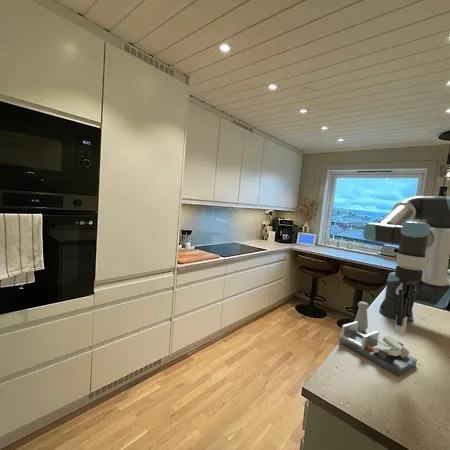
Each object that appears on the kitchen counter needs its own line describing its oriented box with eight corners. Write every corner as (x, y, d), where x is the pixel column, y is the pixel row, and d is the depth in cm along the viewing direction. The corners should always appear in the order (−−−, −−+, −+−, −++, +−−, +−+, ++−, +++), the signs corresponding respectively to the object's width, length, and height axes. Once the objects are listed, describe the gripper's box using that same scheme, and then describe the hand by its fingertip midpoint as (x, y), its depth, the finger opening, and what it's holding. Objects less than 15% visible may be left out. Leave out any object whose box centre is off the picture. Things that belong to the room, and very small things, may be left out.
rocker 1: (378, 349, 95) (377, 344, 95) (401, 353, 88) (400, 347, 89) (373, 351, 93) (372, 346, 94) (396, 356, 87) (395, 350, 87)
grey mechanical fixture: (357, 336, 110) (359, 319, 109) (416, 366, 91) (419, 346, 91) (339, 342, 103) (341, 325, 102) (398, 376, 85) (401, 355, 84)
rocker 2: (387, 338, 99) (389, 334, 98) (407, 355, 93) (410, 352, 92) (382, 340, 97) (384, 336, 96) (402, 358, 91) (405, 354, 90)
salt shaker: (354, 325, 120) (358, 299, 119) (368, 330, 117) (371, 302, 115) (351, 329, 116) (355, 302, 115) (365, 334, 112) (369, 306, 111)
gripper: (406, 263, 92) (396, 325, 94) (387, 265, 85) (378, 332, 88) (430, 269, 86) (420, 335, 88) (413, 271, 79) (402, 343, 81)
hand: (399, 333), depth 88 cm, fingers closed
